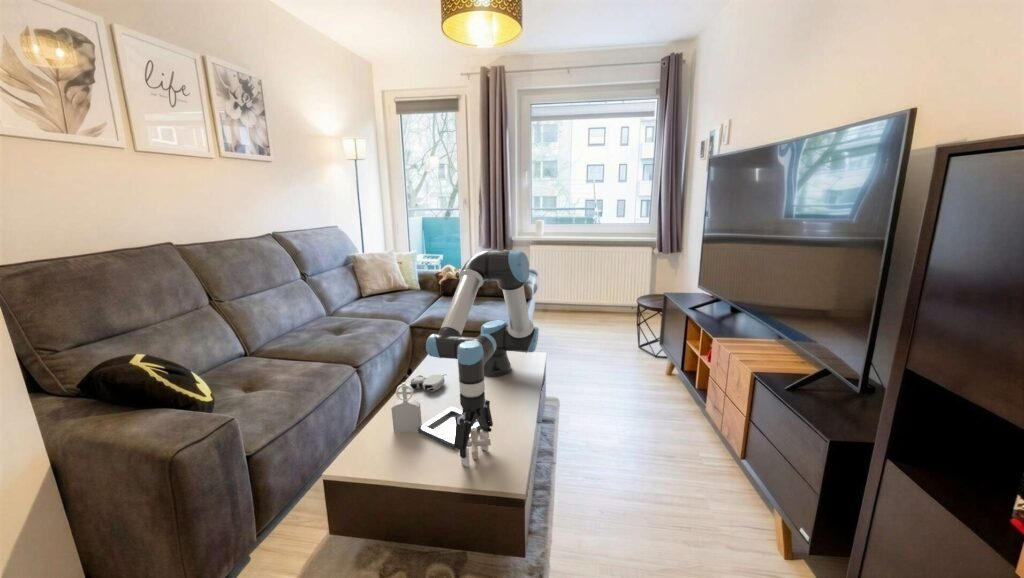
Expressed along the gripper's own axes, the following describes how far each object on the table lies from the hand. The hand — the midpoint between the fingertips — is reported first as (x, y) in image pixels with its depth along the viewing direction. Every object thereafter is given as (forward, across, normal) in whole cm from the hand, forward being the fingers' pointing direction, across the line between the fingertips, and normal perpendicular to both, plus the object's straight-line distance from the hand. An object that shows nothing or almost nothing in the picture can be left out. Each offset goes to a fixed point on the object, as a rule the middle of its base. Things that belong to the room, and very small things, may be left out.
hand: (475, 456), depth 128 cm
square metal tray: (0, -8, -17) cm, 19 cm away
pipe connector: (0, 0, 0) cm, 0 cm away
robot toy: (+1, -25, -48) cm, 54 cm away
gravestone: (0, +1, -30) cm, 30 cm away
